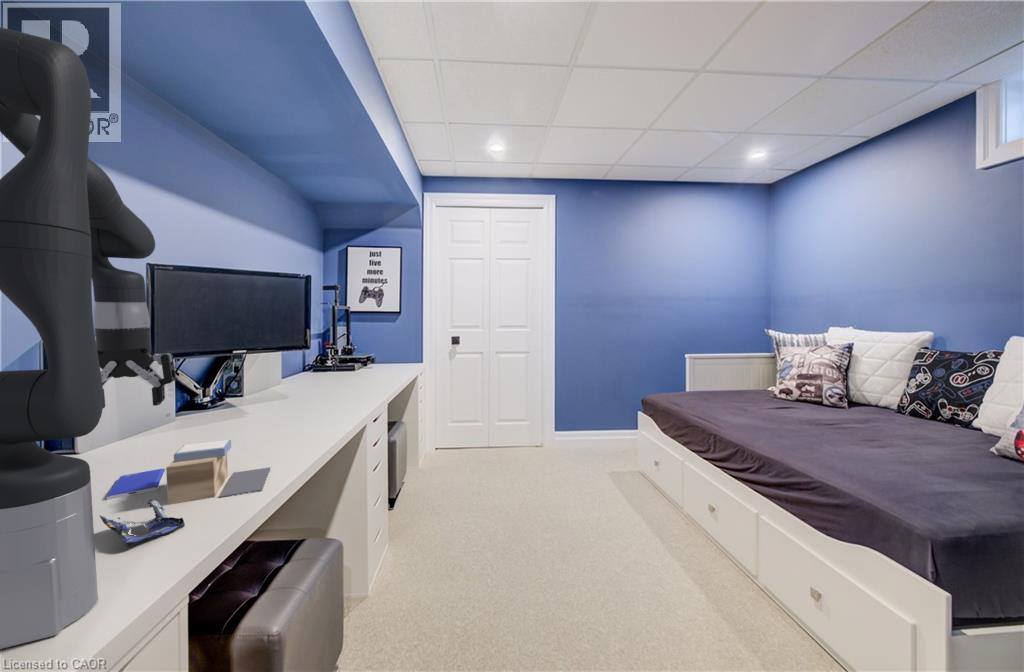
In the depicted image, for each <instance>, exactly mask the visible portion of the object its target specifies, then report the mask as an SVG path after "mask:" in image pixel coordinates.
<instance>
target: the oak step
mask: <svg viewBox="0 0 1024 672" xmlns="http://www.w3.org/2000/svg"><path fill="white" fill-rule="evenodd" d="M165 468H166V469H165V472H166V488H167V489H166V490H167V491H166V492H167V505H174V504H179V503H185V502H192V501H198V500H204V499H211V498H215V497H216V496H217V494H218V492H219V491H220V489H221V487H222V486H223V485H224V483H225V481H226V480H225V479H227V478H228V475H229V474H228V473H229V472H228V453H227V454H226V455H225V456H222V457H214V458H206V459H199V460H191V461H183V462H175V463H174V460H173V461H172V462H171V463H169V464H168V466H166V467H165Z"/></svg>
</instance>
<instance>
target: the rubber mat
mask: <svg viewBox="0 0 1024 672" xmlns="http://www.w3.org/2000/svg"><path fill="white" fill-rule="evenodd" d="M270 468H272V467H263V468H257V469H256V468H255V469H248V470H243V471H235V472H233V473H232V474H231V475H230V478H229V479H228V481H227V483H226V485H225V486H224V487H223V490H221V493H220V494H219V496H218V498H219V499H221V498H226V497H233V496H232V495H234V496H238V495H237V494H240V495H243V494H242V493H246V494H249V493H248V492H252V493H256V492H255V491H258V492H263V490H262V489H264V487H265V485H264V484H266V482H267V479H268V477H267V476H269V474H270V472H271V469H270ZM268 473H269V474H268ZM266 478H267V479H266ZM265 481H266V482H265Z"/></svg>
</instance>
